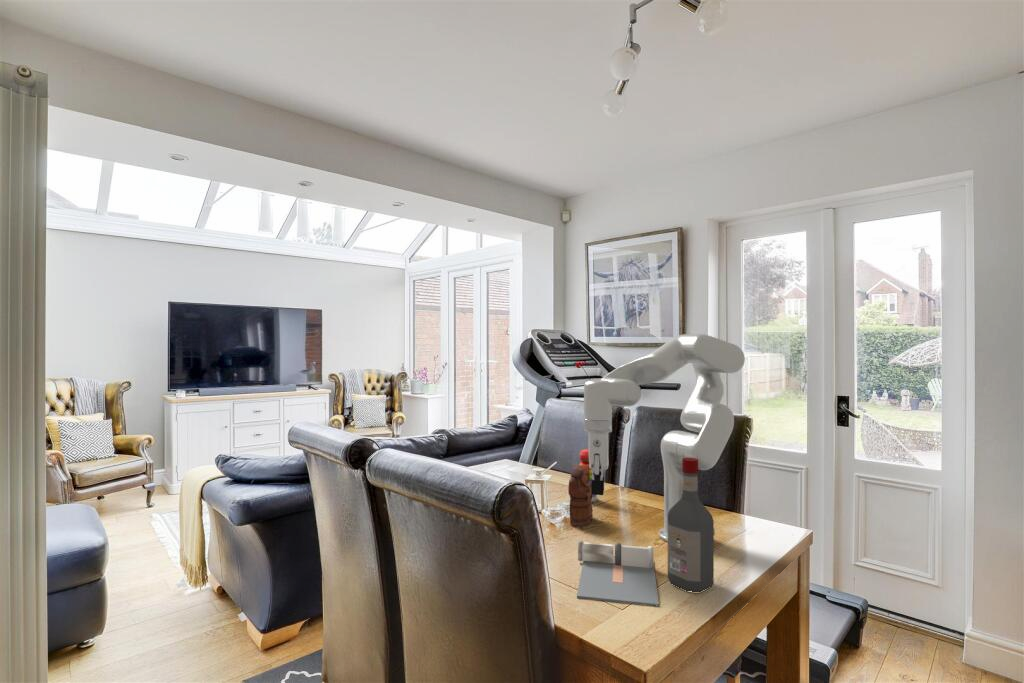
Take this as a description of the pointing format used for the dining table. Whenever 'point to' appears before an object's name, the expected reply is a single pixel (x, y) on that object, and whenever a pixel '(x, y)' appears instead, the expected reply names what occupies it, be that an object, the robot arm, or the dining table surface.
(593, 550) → the hinged panel
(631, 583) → the board
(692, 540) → the liquor
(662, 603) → the dining table surface
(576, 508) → the wooden figurine
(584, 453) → the stacking toy
